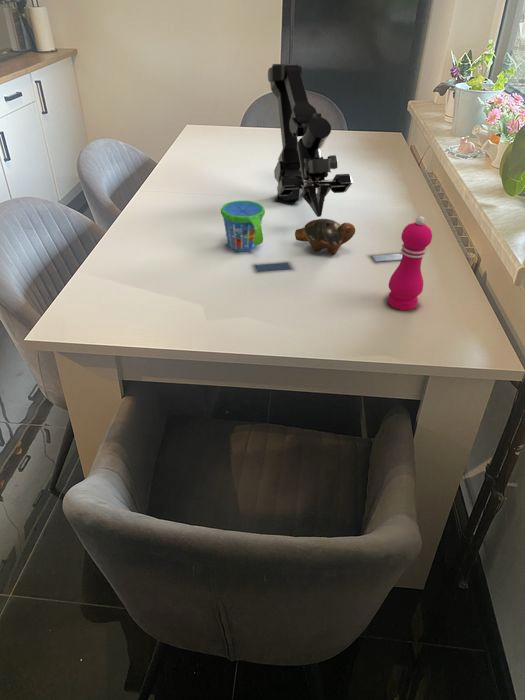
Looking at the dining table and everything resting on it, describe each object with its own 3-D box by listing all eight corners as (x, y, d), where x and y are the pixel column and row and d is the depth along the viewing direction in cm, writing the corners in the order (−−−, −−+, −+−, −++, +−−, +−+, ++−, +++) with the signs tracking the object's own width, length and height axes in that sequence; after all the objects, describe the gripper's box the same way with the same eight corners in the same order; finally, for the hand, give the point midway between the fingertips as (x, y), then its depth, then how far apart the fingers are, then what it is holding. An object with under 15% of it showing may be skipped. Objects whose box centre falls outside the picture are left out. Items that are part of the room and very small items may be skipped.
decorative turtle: (353, 260, 134) (355, 231, 129) (292, 257, 137) (292, 228, 132) (354, 241, 142) (356, 213, 137) (297, 239, 144) (297, 211, 139)
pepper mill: (381, 294, 122) (398, 209, 110) (412, 294, 122) (432, 209, 110) (390, 312, 116) (408, 224, 104) (423, 311, 117) (445, 224, 105)
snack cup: (211, 237, 142) (211, 199, 136) (248, 230, 146) (249, 194, 140) (235, 263, 131) (236, 223, 125) (274, 255, 135) (276, 216, 129)
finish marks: (255, 265, 131) (255, 265, 130) (400, 254, 138) (400, 253, 138) (258, 271, 128) (258, 271, 128) (405, 259, 136) (405, 259, 136)
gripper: (282, 144, 131) (291, 205, 129) (355, 141, 135) (365, 201, 133) (273, 166, 142) (281, 223, 140) (340, 163, 145) (349, 218, 143)
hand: (319, 216), depth 139 cm, fingers closed
